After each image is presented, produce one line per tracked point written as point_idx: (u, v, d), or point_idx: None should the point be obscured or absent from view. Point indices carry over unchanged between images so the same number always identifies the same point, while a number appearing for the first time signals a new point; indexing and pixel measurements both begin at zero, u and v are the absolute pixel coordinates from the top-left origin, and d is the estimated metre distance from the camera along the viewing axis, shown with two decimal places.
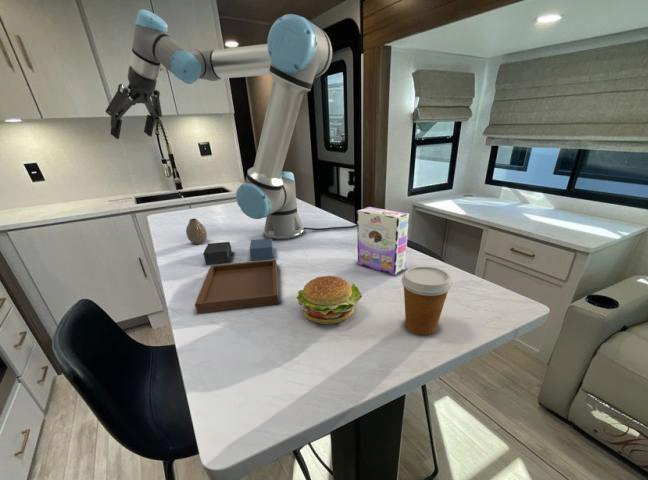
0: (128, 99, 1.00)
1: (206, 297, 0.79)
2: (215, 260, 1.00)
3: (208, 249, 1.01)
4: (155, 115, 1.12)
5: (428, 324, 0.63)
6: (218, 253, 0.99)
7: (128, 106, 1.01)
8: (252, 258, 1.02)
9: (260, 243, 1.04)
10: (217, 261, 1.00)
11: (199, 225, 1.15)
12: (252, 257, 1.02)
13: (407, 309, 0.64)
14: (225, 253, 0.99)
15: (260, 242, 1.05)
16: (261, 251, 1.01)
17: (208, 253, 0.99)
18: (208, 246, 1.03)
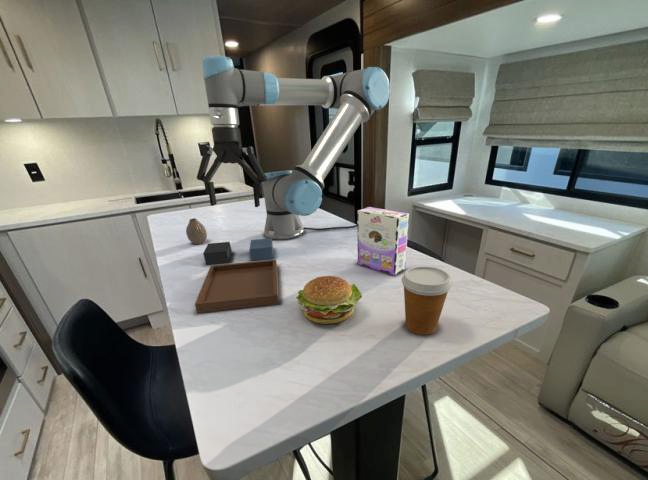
0: (243, 161, 0.91)
1: (206, 297, 0.79)
2: (215, 260, 1.00)
3: (208, 249, 1.01)
4: None
5: (428, 324, 0.63)
6: (218, 253, 0.99)
7: None
8: (252, 258, 1.02)
9: (260, 243, 1.04)
10: (217, 261, 1.00)
11: (199, 225, 1.15)
12: (252, 257, 1.02)
13: (407, 309, 0.64)
14: (225, 253, 0.99)
15: (260, 242, 1.05)
16: (261, 251, 1.01)
17: (208, 253, 0.99)
18: (208, 246, 1.03)
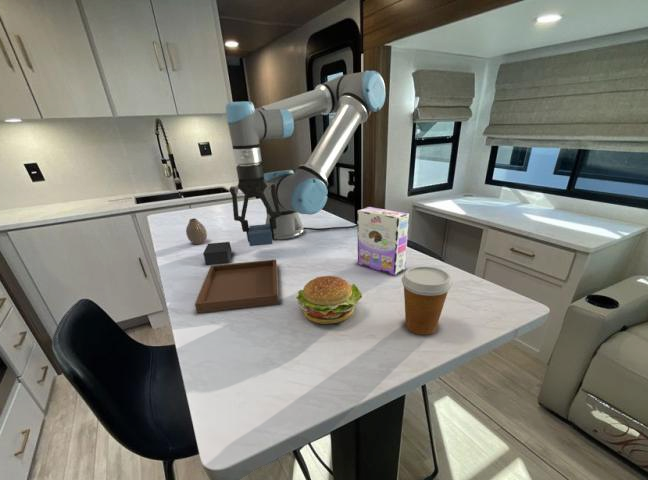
0: (264, 196, 0.98)
1: (206, 297, 0.79)
2: (215, 260, 1.00)
3: (208, 249, 1.01)
4: None
5: (428, 324, 0.63)
6: (218, 253, 0.99)
7: None
8: (251, 243, 1.00)
9: (258, 229, 1.02)
10: (217, 261, 1.00)
11: (199, 225, 1.15)
12: (251, 242, 1.00)
13: (407, 309, 0.64)
14: (225, 253, 0.99)
15: (259, 228, 1.03)
16: (259, 236, 0.99)
17: (208, 253, 0.99)
18: (208, 246, 1.03)
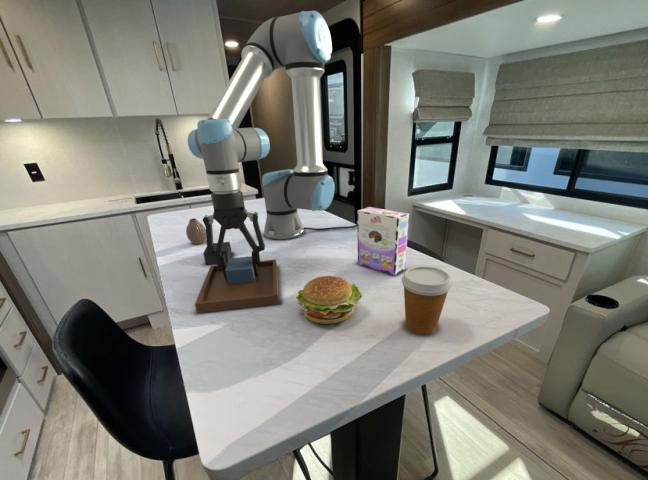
0: (245, 227, 0.84)
1: (206, 297, 0.79)
2: (215, 260, 1.00)
3: None
4: None
5: (428, 324, 0.63)
6: None
7: None
8: (228, 281, 0.85)
9: (238, 263, 0.87)
10: None
11: (199, 225, 1.15)
12: (228, 280, 0.85)
13: (407, 309, 0.64)
14: (225, 253, 0.99)
15: (240, 262, 0.88)
16: (238, 273, 0.84)
17: None
18: None
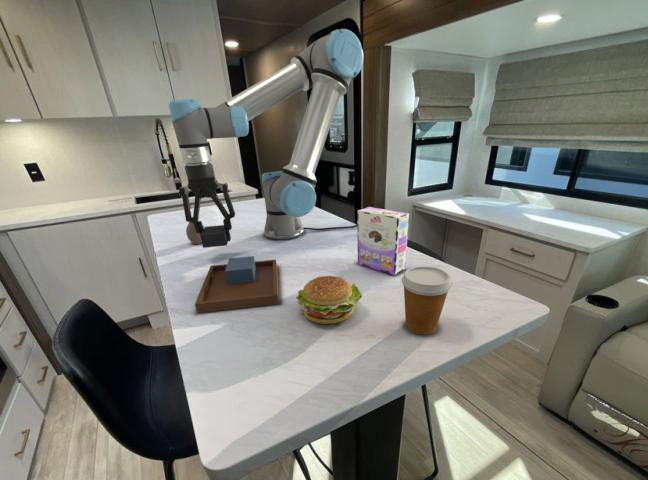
0: (216, 196, 0.95)
1: (206, 297, 0.79)
2: (213, 242, 0.97)
3: (205, 231, 0.98)
4: None
5: (428, 324, 0.63)
6: (215, 235, 0.96)
7: None
8: (228, 281, 0.85)
9: (238, 263, 0.87)
10: (214, 244, 0.98)
11: None
12: (228, 280, 0.85)
13: (407, 309, 0.64)
14: (222, 235, 0.97)
15: (240, 262, 0.88)
16: (238, 273, 0.84)
17: (205, 235, 0.96)
18: (205, 229, 1.01)
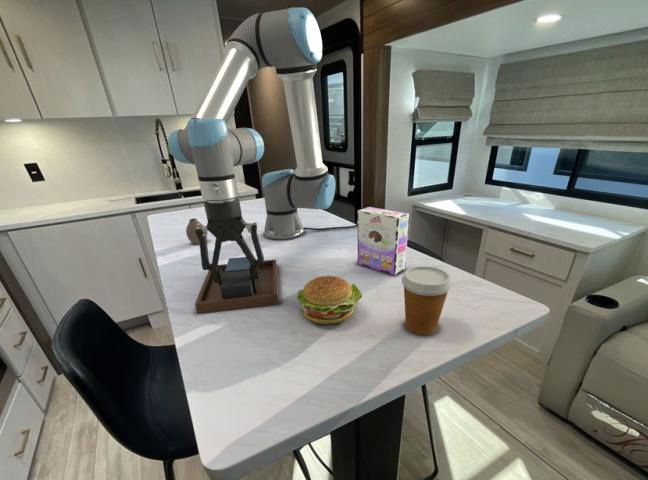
0: (242, 239, 0.75)
1: (206, 297, 0.79)
2: (236, 296, 0.77)
3: (227, 281, 0.78)
4: None
5: (428, 324, 0.63)
6: (239, 287, 0.76)
7: None
8: None
9: (238, 263, 0.87)
10: (238, 297, 0.77)
11: (199, 225, 1.15)
12: None
13: (407, 309, 0.64)
14: (248, 287, 0.76)
15: (240, 262, 0.88)
16: None
17: (226, 288, 0.75)
18: (225, 277, 0.80)
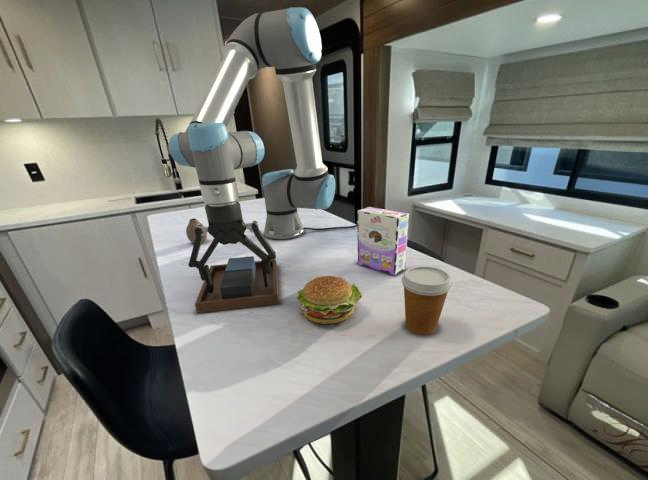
0: (247, 238, 0.75)
1: (206, 297, 0.79)
2: (236, 296, 0.77)
3: (226, 282, 0.78)
4: None
5: (428, 324, 0.63)
6: (239, 287, 0.76)
7: None
8: None
9: (238, 263, 0.87)
10: None
11: None
12: None
13: (407, 309, 0.64)
14: (248, 288, 0.76)
15: (240, 262, 0.88)
16: None
17: (226, 288, 0.75)
18: (225, 277, 0.80)
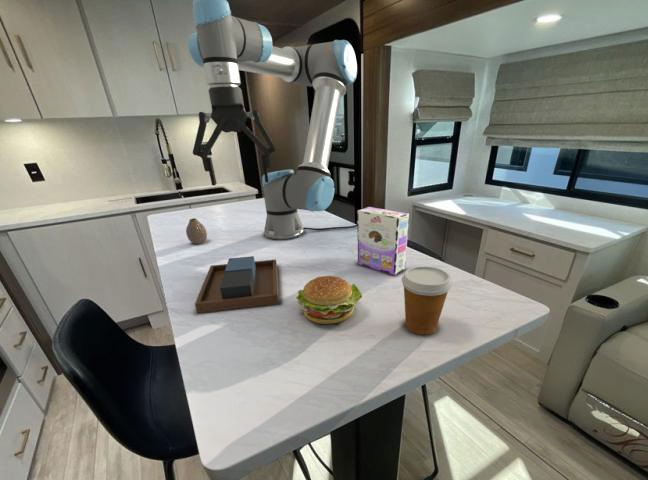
0: (248, 128, 0.79)
1: (206, 297, 0.79)
2: (236, 296, 0.77)
3: (226, 282, 0.78)
4: None
5: (428, 324, 0.63)
6: (239, 287, 0.76)
7: None
8: None
9: (238, 263, 0.87)
10: None
11: (199, 225, 1.15)
12: None
13: (407, 309, 0.64)
14: (248, 288, 0.76)
15: (240, 262, 0.88)
16: None
17: (226, 288, 0.75)
18: (225, 277, 0.80)
